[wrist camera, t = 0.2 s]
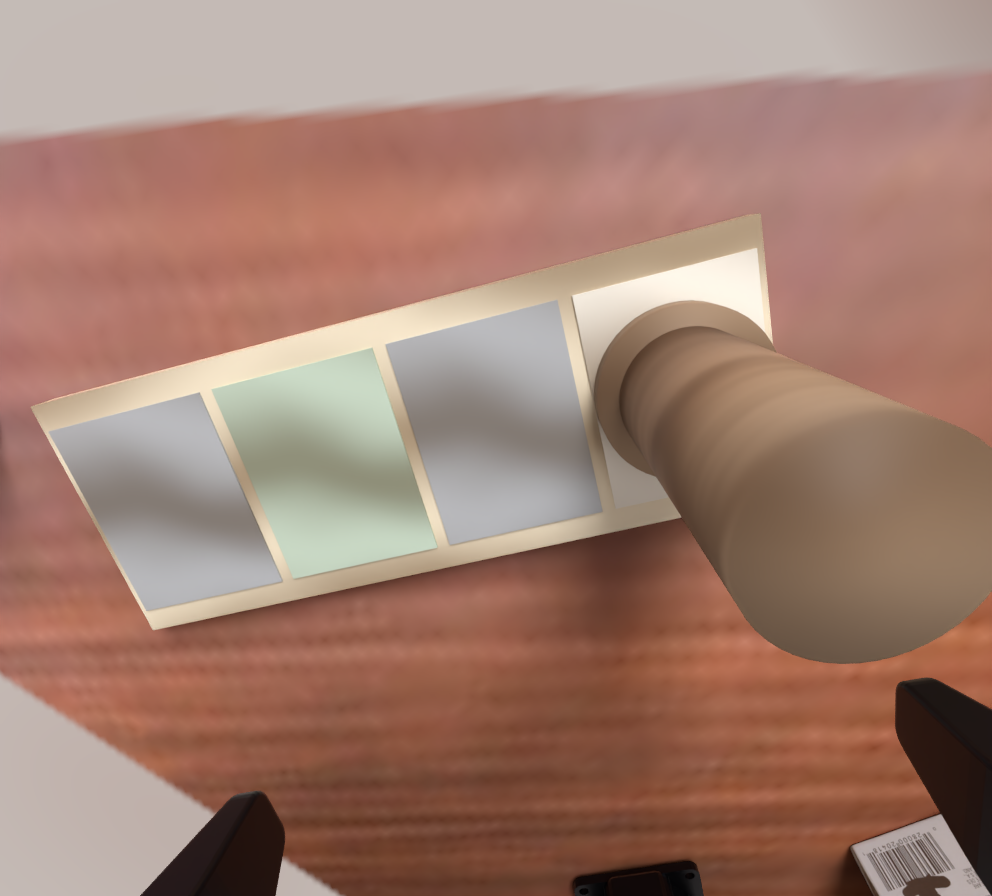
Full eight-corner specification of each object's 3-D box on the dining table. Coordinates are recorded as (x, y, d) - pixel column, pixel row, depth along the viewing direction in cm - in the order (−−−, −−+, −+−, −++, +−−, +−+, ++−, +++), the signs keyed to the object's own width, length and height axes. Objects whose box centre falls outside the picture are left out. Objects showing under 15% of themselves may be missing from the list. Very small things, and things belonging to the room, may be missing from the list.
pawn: (776, 448, 20) (1052, 660, 10) (610, 485, 21) (710, 720, 11) (759, 279, 18) (1082, 326, 8) (578, 325, 19) (661, 423, 9)
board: (772, 482, 22) (787, 496, 21) (169, 612, 25) (151, 631, 24) (745, 215, 19) (761, 213, 18) (55, 398, 22) (28, 407, 20)
